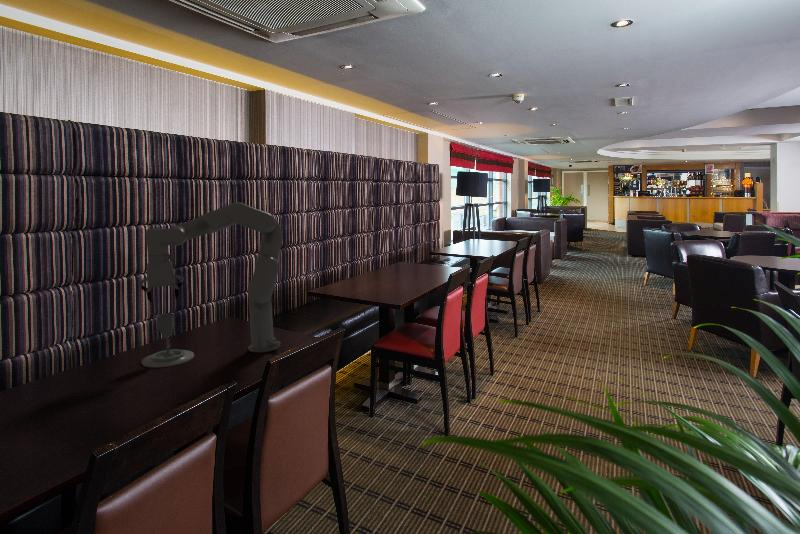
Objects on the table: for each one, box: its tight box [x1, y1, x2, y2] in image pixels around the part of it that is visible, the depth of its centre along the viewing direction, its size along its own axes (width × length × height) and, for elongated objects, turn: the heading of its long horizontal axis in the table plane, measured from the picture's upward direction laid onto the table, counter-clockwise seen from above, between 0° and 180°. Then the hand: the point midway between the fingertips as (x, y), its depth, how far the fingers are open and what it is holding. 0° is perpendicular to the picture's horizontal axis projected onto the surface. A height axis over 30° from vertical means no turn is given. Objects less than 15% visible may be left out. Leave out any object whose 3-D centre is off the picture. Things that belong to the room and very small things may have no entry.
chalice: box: [155, 313, 175, 358], centre depth 210 cm, size 7×7×18 cm
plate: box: [141, 348, 195, 369], centre depth 211 cm, size 20×20×2 cm
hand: (163, 300), depth 207 cm, fingers open, 9 cm apart
